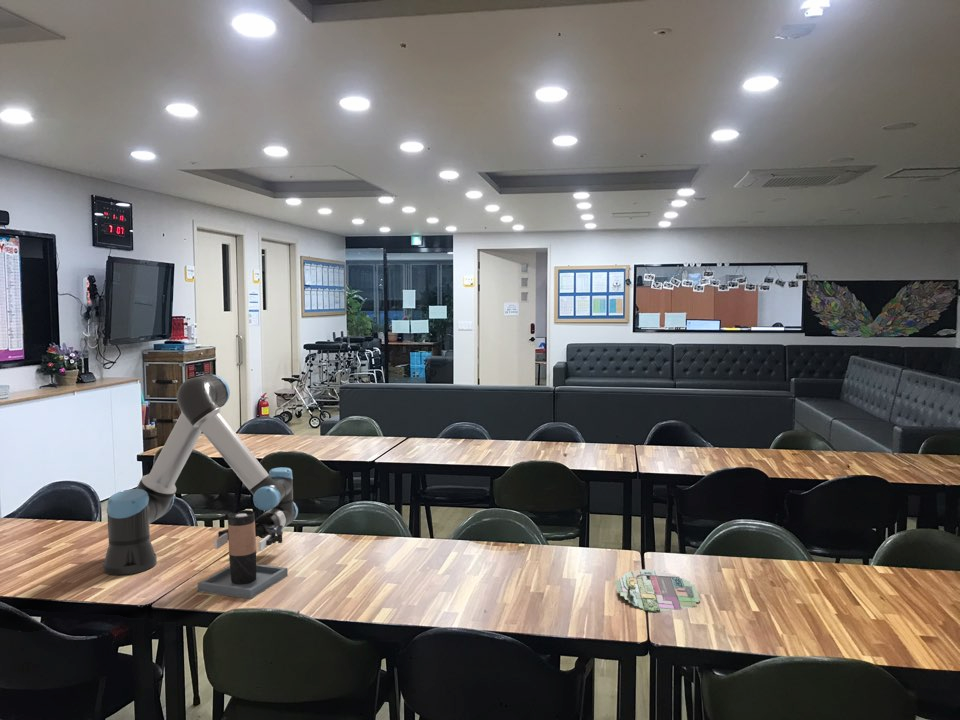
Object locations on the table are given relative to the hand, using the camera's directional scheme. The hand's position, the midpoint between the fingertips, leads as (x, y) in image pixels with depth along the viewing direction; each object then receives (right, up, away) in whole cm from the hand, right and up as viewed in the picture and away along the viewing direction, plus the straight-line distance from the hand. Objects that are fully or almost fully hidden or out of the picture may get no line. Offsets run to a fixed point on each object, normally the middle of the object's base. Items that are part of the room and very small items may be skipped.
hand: (237, 545), depth 204 cm
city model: (+120, -13, -6) cm, 121 cm away
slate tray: (0, -12, +4) cm, 13 cm away
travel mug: (0, -11, +4) cm, 12 cm away
